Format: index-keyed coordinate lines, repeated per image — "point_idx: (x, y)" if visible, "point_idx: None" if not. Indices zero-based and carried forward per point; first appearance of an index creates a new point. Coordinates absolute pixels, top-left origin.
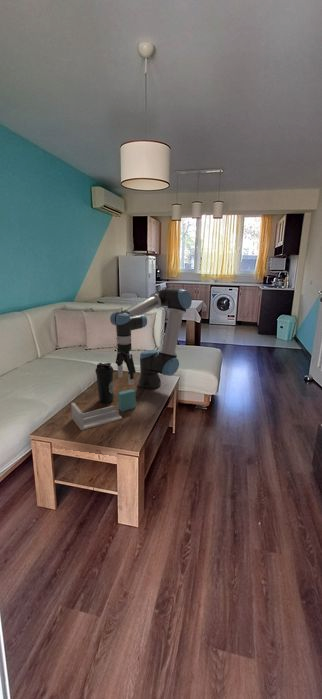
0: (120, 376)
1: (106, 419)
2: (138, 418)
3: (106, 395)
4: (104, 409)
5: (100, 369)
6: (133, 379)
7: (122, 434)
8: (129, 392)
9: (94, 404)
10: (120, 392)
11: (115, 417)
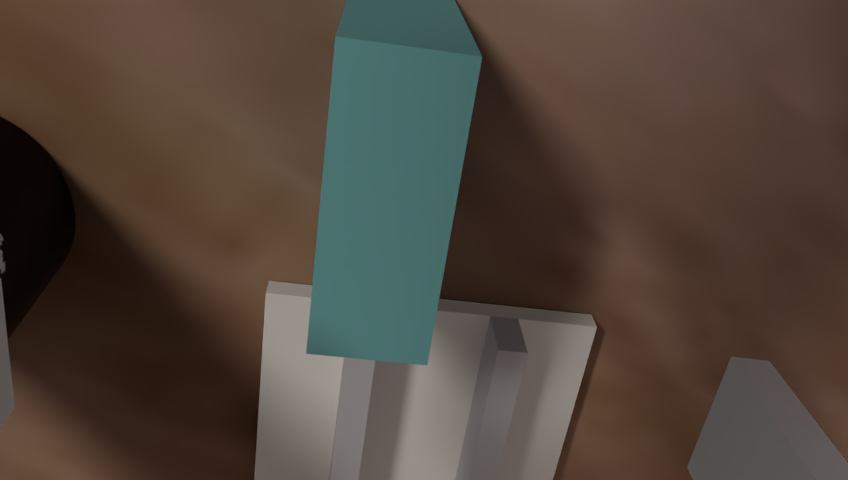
0: (2, 366)
1: (516, 462)
2: (736, 162)
3: (22, 313)
4: (362, 446)
5: None
6: (842, 464)
7: (841, 453)
8: (454, 193)
9: (18, 370)
10: (336, 319)
11: (549, 380)
